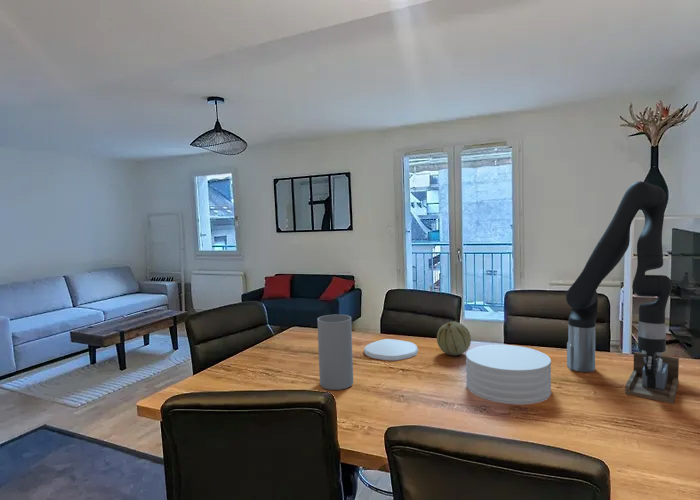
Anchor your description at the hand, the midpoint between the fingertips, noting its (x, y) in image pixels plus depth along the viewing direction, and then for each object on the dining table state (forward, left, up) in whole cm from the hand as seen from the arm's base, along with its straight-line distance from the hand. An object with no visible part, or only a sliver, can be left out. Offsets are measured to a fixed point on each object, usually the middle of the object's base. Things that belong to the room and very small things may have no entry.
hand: (651, 387), depth 140 cm
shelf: (+3, +6, -3) cm, 7 cm away
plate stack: (-45, -2, -3) cm, 45 cm away
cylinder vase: (-105, -11, -3) cm, 106 cm away
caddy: (+4, +8, -1) cm, 9 cm away
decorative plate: (-92, +32, -3) cm, 98 cm away
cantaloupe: (-64, +32, -3) cm, 72 cm away
